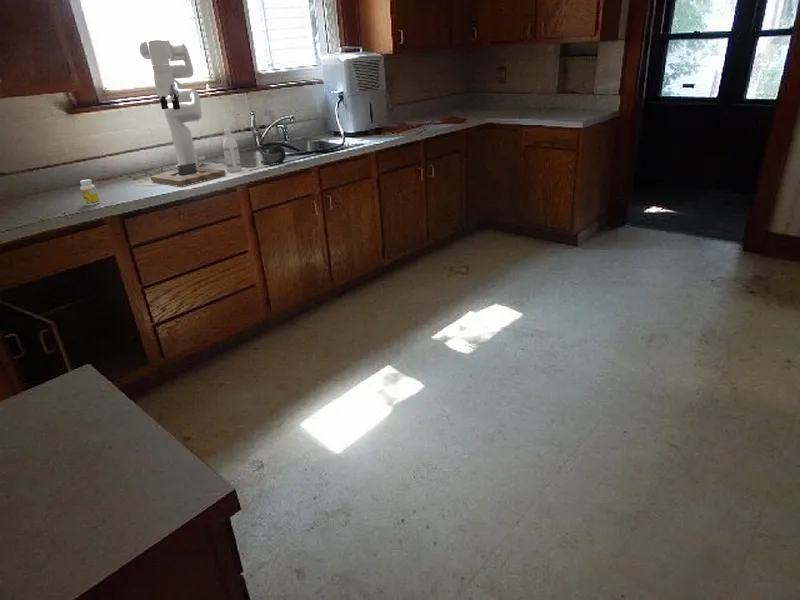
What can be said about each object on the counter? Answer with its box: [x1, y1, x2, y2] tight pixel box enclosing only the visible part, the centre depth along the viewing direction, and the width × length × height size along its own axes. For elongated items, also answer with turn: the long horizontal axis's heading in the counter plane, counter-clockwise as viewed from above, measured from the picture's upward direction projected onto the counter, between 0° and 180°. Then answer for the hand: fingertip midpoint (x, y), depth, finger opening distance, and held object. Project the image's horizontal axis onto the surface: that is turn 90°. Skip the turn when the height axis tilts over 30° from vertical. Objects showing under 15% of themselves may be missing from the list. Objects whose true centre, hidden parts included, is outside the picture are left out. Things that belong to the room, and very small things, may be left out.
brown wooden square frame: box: [150, 166, 227, 187], centre depth 250 cm, size 24×24×3 cm
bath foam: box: [222, 128, 243, 173], centre depth 258 cm, size 7×7×20 cm
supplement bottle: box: [79, 179, 101, 206], centre depth 213 cm, size 5×5×10 cm
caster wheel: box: [260, 144, 286, 166], centre depth 269 cm, size 6×10×15 cm
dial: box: [176, 163, 200, 177], centre depth 249 cm, size 11×11×6 cm
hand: (171, 109), depth 249 cm, fingers open, 9 cm apart
